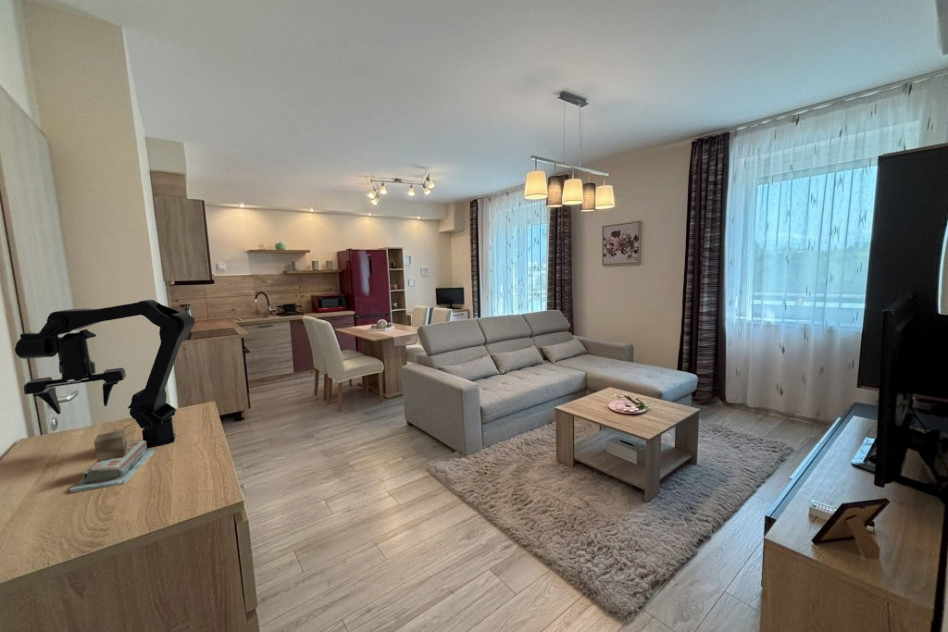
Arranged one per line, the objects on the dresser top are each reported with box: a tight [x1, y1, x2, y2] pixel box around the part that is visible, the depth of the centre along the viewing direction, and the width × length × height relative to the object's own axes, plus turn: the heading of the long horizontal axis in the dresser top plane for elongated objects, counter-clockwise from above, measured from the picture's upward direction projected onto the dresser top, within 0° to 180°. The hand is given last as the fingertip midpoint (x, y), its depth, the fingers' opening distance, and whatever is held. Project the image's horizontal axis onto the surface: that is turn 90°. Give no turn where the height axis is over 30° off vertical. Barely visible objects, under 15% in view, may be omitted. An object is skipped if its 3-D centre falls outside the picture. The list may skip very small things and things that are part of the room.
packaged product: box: [69, 439, 157, 494], centre depth 95 cm, size 18×5×10 cm
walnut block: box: [93, 429, 127, 462], centre depth 95 cm, size 5×5×5 cm
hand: (83, 409), depth 105 cm, fingers open, 9 cm apart
